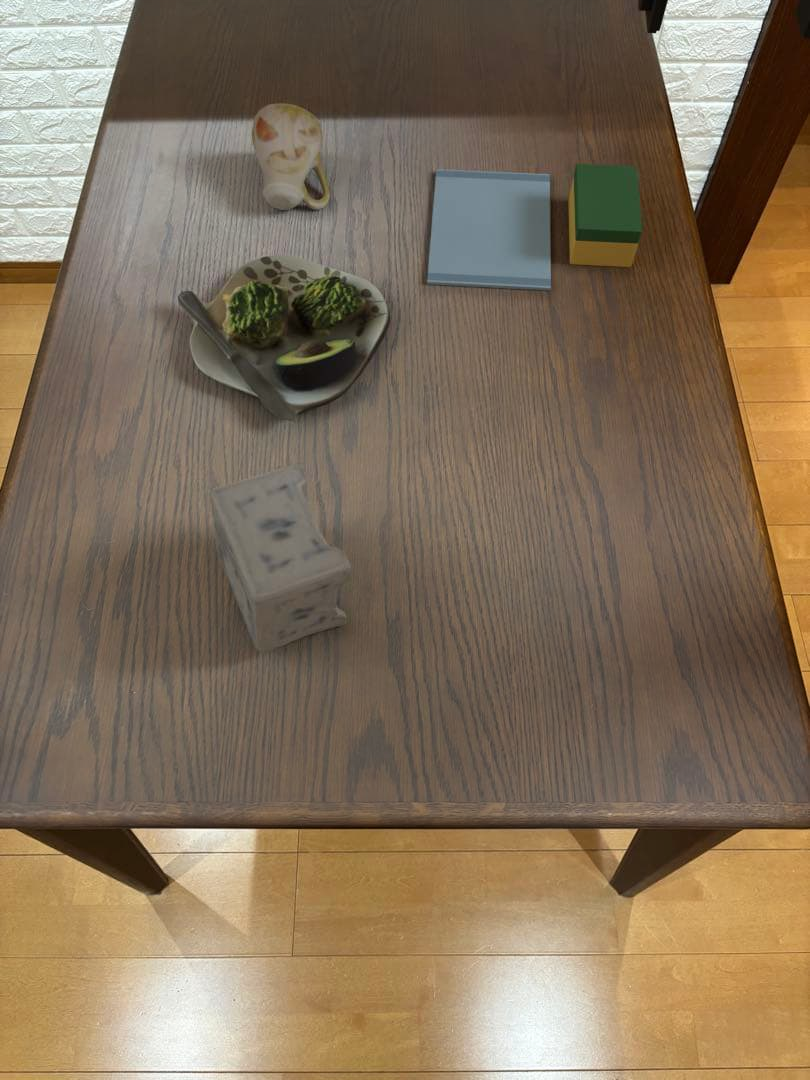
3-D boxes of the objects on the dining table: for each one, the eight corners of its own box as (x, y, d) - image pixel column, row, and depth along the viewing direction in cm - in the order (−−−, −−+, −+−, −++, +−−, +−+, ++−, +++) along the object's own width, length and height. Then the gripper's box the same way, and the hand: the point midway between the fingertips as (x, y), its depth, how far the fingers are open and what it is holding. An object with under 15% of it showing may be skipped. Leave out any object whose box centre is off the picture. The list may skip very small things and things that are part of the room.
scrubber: (568, 200, 85) (576, 163, 81) (626, 203, 85) (637, 166, 81) (569, 264, 81) (578, 228, 77) (630, 267, 81) (642, 231, 77)
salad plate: (135, 368, 76) (119, 334, 72) (237, 242, 83) (228, 204, 79) (318, 446, 72) (313, 415, 68) (409, 306, 79) (409, 270, 75)
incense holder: (361, 619, 65) (352, 562, 55) (261, 662, 63) (235, 611, 54) (313, 519, 69) (298, 450, 59) (218, 557, 67) (188, 493, 58)
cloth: (549, 177, 87) (550, 173, 87) (550, 291, 80) (550, 287, 80) (436, 172, 88) (436, 168, 87) (426, 284, 80) (427, 281, 80)
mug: (251, 225, 84) (222, 118, 79) (282, 201, 92) (258, 102, 87) (319, 216, 82) (294, 105, 77) (345, 192, 90) (324, 90, 84)
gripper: (670, -329, 36) (592, 54, 51) (1077, -320, 35) (876, 66, 51) (658, -394, 39) (589, -16, 55) (1030, -387, 39) (855, -6, 54)
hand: (727, 23), depth 53 cm, fingers open, 9 cm apart
